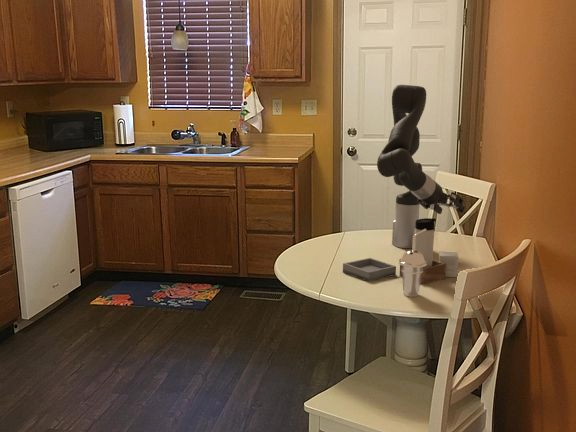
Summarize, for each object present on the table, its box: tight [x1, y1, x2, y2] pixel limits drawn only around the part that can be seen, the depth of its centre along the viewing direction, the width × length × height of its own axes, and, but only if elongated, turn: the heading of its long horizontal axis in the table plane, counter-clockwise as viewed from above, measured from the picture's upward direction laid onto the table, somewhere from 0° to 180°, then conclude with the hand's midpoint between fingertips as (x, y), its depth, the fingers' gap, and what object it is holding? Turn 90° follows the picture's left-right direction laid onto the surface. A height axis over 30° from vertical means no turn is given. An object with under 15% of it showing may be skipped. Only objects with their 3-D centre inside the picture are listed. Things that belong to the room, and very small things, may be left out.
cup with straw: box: [397, 229, 427, 298], centre depth 190 cm, size 8×9×20 cm
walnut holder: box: [399, 259, 446, 285], centre depth 209 cm, size 11×11×5 cm
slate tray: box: [342, 257, 397, 282], centre depth 212 cm, size 13×13×3 cm
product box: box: [438, 250, 459, 278], centre depth 212 cm, size 6×6×7 cm
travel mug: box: [415, 217, 437, 268], centre depth 207 cm, size 6×7×20 cm
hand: (451, 211), depth 208 cm, fingers open, 8 cm apart
